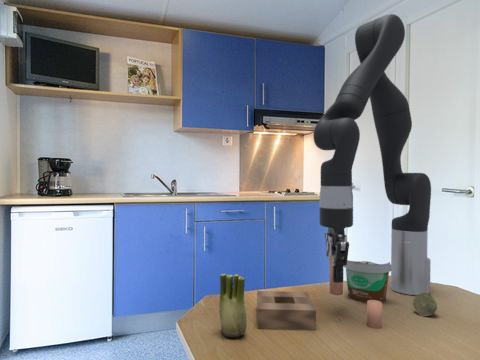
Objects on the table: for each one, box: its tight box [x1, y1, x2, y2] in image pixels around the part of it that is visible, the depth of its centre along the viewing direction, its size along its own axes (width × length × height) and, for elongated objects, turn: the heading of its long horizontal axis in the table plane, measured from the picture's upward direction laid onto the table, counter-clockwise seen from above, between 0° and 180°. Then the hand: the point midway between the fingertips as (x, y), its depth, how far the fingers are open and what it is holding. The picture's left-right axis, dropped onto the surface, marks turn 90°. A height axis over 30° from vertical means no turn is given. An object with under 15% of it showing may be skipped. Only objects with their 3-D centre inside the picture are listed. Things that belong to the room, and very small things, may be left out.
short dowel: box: [366, 300, 383, 329], centre depth 76 cm, size 3×3×5 cm
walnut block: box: [256, 290, 317, 331], centre depth 80 cm, size 12×12×4 cm
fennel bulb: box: [219, 273, 247, 338], centre depth 71 cm, size 6×5×12 cm
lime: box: [412, 293, 438, 317], centre depth 83 cm, size 4×5×5 cm
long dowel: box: [329, 250, 344, 296], centre depth 83 cm, size 3×3×10 cm
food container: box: [343, 259, 392, 304], centre depth 92 cm, size 12×6×10 cm, turn 62°
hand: (336, 279), depth 83 cm, fingers closed on long dowel, 3 cm apart
